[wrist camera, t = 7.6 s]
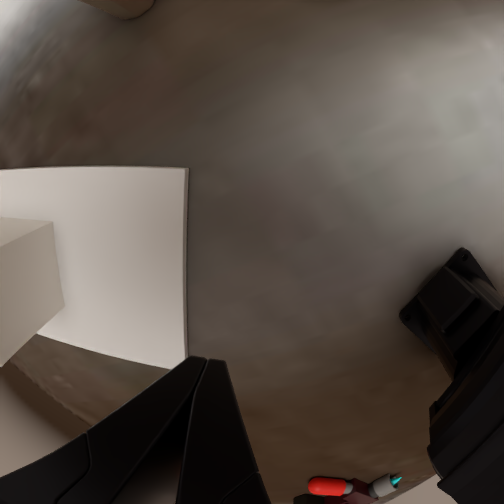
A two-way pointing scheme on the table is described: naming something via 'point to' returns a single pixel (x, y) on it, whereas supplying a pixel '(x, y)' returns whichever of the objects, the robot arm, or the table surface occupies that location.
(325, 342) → the table surface
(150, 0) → the takeaway coffee cup
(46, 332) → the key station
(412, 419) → the table surface
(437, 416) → the robot arm
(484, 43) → the table surface
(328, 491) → the toy gun
